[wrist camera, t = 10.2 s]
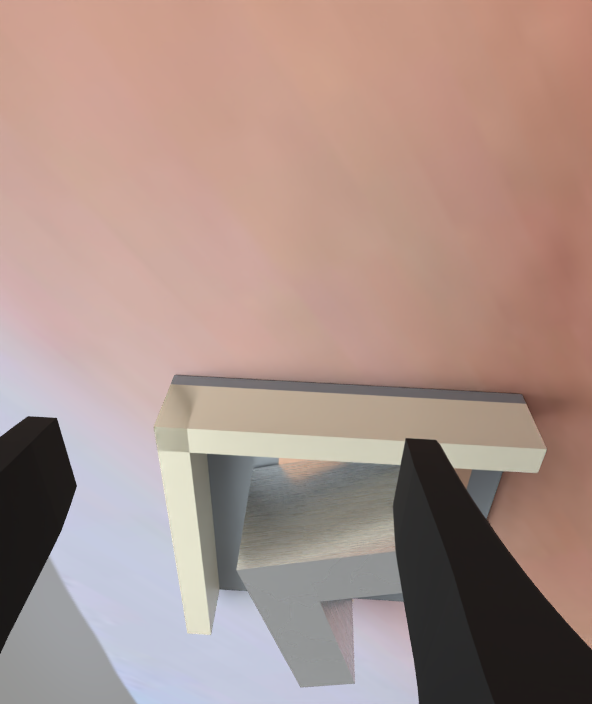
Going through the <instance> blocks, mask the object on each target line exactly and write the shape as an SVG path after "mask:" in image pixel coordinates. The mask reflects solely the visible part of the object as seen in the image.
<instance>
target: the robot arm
mask: <svg viewBox="0 0 592 704" xmlns="http://www.w3.org/2000/svg"><path fill="white" fill-rule="evenodd" d="M76 487H77V485H76V481H75V478H74V475H73V471H72V468H71V465H70V461H69V458H68V454H67V451H66V448H65V444H64V441H63V437H62V434H61V431H60V427H59V424H58V420H57V418H48V417H30V416H28V417H27V418H25V419H24V420H22V421H21V422H19V423H18V424H17V425H15V426H14V427H13V428H11V429H10V430H9V431H7V432H6V433H5V434H4V435H2V436H1V437H0V653H1V651H2V649H3V647H4V645H5V642H6V640H7V638H8V636H9V634H10V631H11V630H12V628H13V626H14V624H15V622H16V620H17V618H18V616H19V614H20V612H21V610H22V608H23V606H24V604H25V602H26V600H27V598H28V596H29V594H30V592H31V590H32V588H33V586H34V585H35V583H36V580H37V579H38V577H39V575H40V573H41V571H42V569H43V566H44V565H45V563H46V560H47V559H48V557H49V555H50V553H51V551H52V549H53V547H54V545H55V543H56V541H57V539H58V536H59V534H60V532H61V530H62V527H63V524H64V522H65V519H66V516H67V514H68V511H69V508H70V505H71V502H72V499H73V496H74V493H75V490H76ZM393 518H394V536H395V551H396V558H397V565H398V571H399V576H400V582H401V588H402V594H403V600H404V606H405V611H406V617H407V623H408V629H409V635H410V640H411V646H412V652H413V658H414V664H415V671H416V679H417V686H418V696H419V704H592V650H591V648H590V647H589V646H588V645H587V644H586V643H585V642H584V641H583V640H582V639H581V638H580V636H579V635H578V634H577V633H576V632H575V631H574V630H573V629H572V628H571V627H570V626H569V624H568V623H567V622H566V621H565V620H564V619H563V618H562V616H561V615H560V614H559V613H558V612H557V611H556V610H555V608H554V607H553V606H552V605H551V604H550V603H549V601H548V600H547V599H546V598H545V597H544V596H543V594H542V593H541V592H540V591H539V589H538V588H537V587H536V586H535V585H534V583H533V582H532V581H531V580H530V578H529V577H528V576H527V575H526V573H525V572H524V571H523V569H522V568H521V567H520V565H519V564H518V563H517V561H516V560H515V559H514V558H513V556H512V555H511V554H510V552H509V551H508V550H507V548H506V547H505V545H504V544H503V543H502V541H501V540H500V539H499V537H498V536H497V534H496V533H495V531H494V530H493V528H492V527H491V526H490V524H489V523H488V521H487V520H486V518H485V517H484V515H483V514H482V512H481V511H480V509H479V508H478V507H477V505H476V503H475V502H474V500H473V499H472V497H471V496H470V494H469V493H468V491H467V489H466V488H465V486H464V484H463V483H462V481H461V480H460V478H459V476H458V475H457V473H456V471H455V470H454V468H453V466H452V465H451V463H450V461H449V459H448V458H447V456H446V454H445V452H444V450H443V449H442V447H441V445H440V444H439V443H438V441H437V440H431V439H414V438H406V439H405V444H404V449H403V455H402V460H401V465H400V470H399V476H398V481H397V486H396V491H395V496H394V502H393Z"/></svg>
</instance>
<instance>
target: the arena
mask: <svg viewBox="0 0 592 704" xmlns="http://www.w3.org/2000/svg"><path fill="white" fill-rule="evenodd" d="M154 432H155V438H156V444H157V450H158V456H159V462H160V468H161V474H162V481H163V487H164V493H165V499H166V505H167V511H168V517H169V523H170V529H171V536H172V542H173V548H174V554H175V560H176V566H177V572H178V578H179V585H180V591H181V597H182V603H183V609H184V615H185V621H186V627H187V633H190V634H204V635H211V632H212V627H213V622H214V616H215V611H216V606H217V600H218V595H219V589H223V590H238V591H247V589H246V587H245V585H244V583H243V582H242V580H241V578H240V576H239V574H238V572H237V571H236V568H237V562H238V556H239V550H240V544H241V538H242V532H243V525H244V519H245V513H246V507H247V501H248V495H249V489H250V483H251V477H252V470H253V468H260V467H266V466H273V465H279V464H285V463H292V462H298V461H305V460H323V461H340V462H357V463H374V464H391V465H401V460H402V455H403V449H404V444H405V439H406V438H414V439H431V440H437V441H438V443H439V444H440V445H441V447H442V449H443V450H444V452H445V454H446V456H447V458H448V459H449V461H450V463H451V465H452V466H453V468H454V470H455V471H456V473H457V475H458V476H459V478H460V480H461V481H462V483H463V484H464V486H465V488H466V489H467V491H468V493H469V494H470V496H471V497H472V499H473V500H474V502H475V503H476V505H477V507H478V508H479V509H480V511H481V512H482V514H483V515H484V517H485V518H486V519H487V516H488V513H489V510H490V507H491V504H492V502H493V499H494V496H495V493H496V490H497V487H498V484H499V481H500V478H501V475H502V473H503V471H510V472H527V473H538V471H539V468H540V466H541V463H542V461H543V458H544V456H545V453H546V451H547V448H546V446H545V444H544V441H543V439H542V437H541V435H540V433H539V431H538V428H537V426H536V424H535V422H534V420H533V418H532V415H531V413H530V411H529V409H528V407H527V404H526V402H525V400H524V398H523V396H522V394H510V393H491V392H473V391H455V390H436V389H418V388H400V387H381V386H363V385H345V384H326V383H308V382H290V381H271V380H253V379H235V378H216V377H198V376H180V375H174V377H173V380H172V382H171V385H170V387H169V390H168V392H167V395H166V397H165V400H164V402H163V405H162V407H161V410H160V412H159V415H158V417H157V420H156V422H155V425H154ZM358 599H373V600H388V601H403V602H404V600H403V594H402V593H397V594H388V595H378V596H368V597H359V598H358Z"/></svg>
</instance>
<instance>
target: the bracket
mask: <svg viewBox="0 0 592 704" xmlns="http://www.w3.org/2000/svg"><path fill="white" fill-rule="evenodd" d="M399 470H400V465H391V464H374V463H357V462H340V461H323V460H305V461H298V462H292V463H285V464H279V465H273V466H266V467H260V468H253V470H252V477H251V483H250V489H249V495H248V501H247V507H246V513H245V519H244V525H243V532H242V538H241V544H240V550H239V556H238V562H237V568H236V571H237V572H238V574H239V576H240V578H241V580H242V582H243V583H244V585H245V587H246V589H247V591H248V592H249V594H250V596H251V598H252V600H253V602H254V603H255V605H256V607H257V609H258V611H259V613H260V614H261V616H262V618H263V620H264V622H265V623H266V625H267V627H268V629H269V631H270V633H271V634H272V636H273V638H274V640H275V642H276V644H277V645H278V647H279V649H280V651H281V653H282V654H283V656H284V658H285V660H286V662H287V664H288V665H289V667H290V669H291V671H292V673H293V675H294V676H295V678H296V680H297V682H298V684H299V685H300V687H314V686H328V685H341V684H355V672H354V641H353V609H352V598H359V597H368V596H378V595H388V594H397V593H402V588H401V582H400V576H399V571H398V565H397V558H396V551H395V536H394V518H393V502H394V496H395V491H396V486H397V481H398V476H399Z"/></svg>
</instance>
